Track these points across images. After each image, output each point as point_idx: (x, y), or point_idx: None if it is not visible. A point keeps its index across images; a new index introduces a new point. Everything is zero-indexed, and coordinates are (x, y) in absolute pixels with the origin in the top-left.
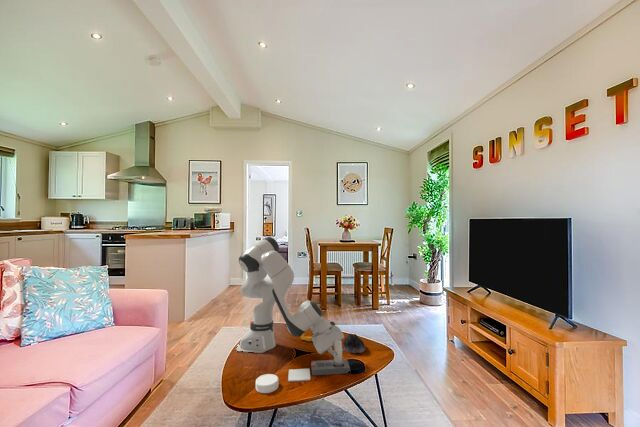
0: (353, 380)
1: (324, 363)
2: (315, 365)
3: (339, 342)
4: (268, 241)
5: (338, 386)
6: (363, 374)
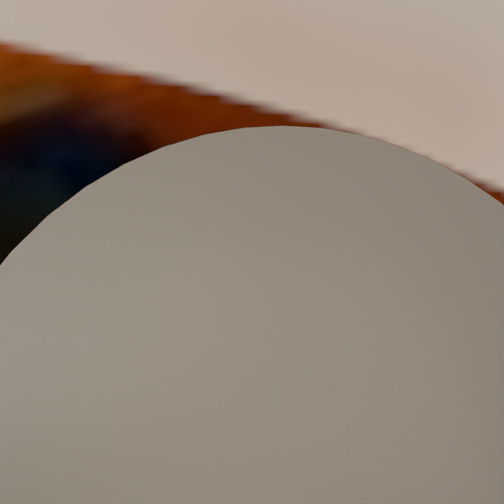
0: (314, 123)
1: None
2: None
3: (376, 231)
4: None
5: (499, 192)
6: (138, 88)
